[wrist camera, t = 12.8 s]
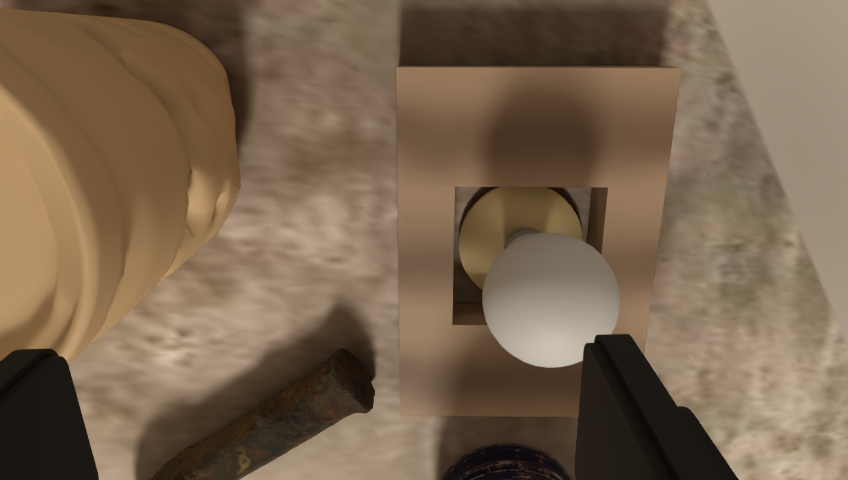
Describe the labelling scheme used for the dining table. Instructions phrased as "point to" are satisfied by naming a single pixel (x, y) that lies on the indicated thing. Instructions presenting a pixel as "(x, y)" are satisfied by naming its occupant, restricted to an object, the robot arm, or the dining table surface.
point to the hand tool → (278, 423)
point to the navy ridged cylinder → (506, 465)
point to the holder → (519, 213)
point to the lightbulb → (549, 297)
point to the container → (103, 169)
